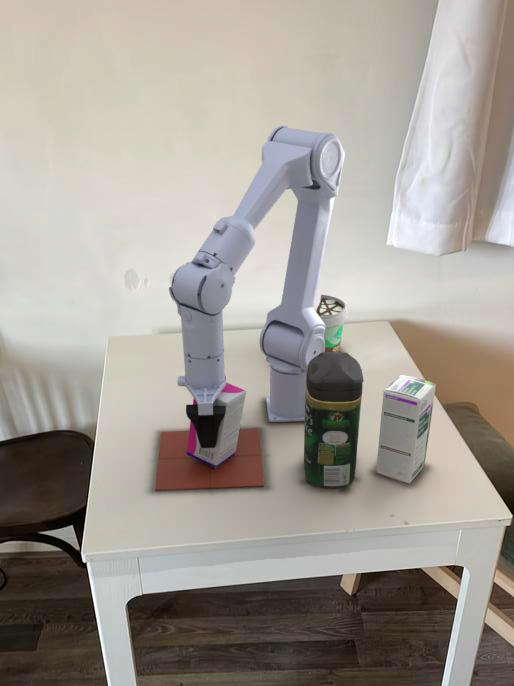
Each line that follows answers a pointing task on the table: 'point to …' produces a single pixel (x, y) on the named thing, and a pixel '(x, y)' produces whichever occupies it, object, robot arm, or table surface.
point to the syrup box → (405, 427)
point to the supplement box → (221, 429)
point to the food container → (332, 321)
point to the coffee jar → (332, 419)
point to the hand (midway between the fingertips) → (208, 432)
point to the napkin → (194, 474)
